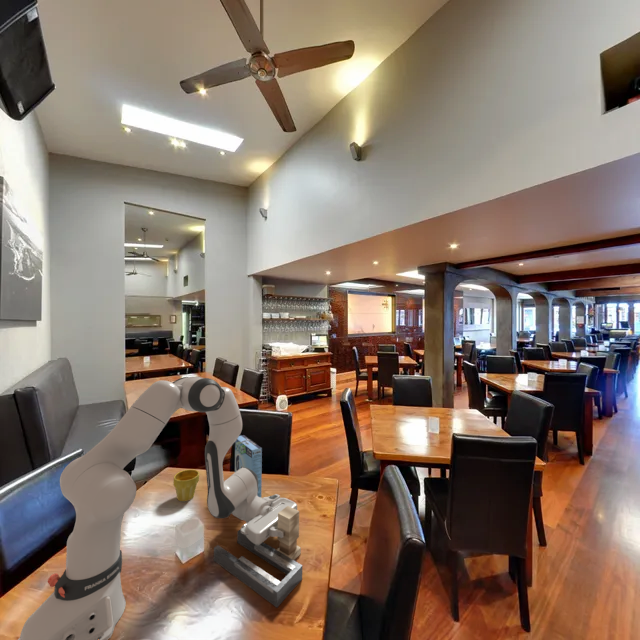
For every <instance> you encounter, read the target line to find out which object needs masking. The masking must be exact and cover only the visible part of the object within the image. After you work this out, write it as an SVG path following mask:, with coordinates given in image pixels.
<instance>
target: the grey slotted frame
mask: <svg viewBox="0 0 640 640" xmlns="http://www.w3.org/2000/svg"><path fill="white" fill-rule="evenodd" d="M240 530H241V528H240V529H238V530H237V536H236V537H237V539H236V541H237V544H238V545H239V546H241V547H243V548H245V549H246V550H248V551H249V552H251V553H252V554H254V555H255V556H257V557H259V558H260V559H262V560H263V561H265V562H266V563H268V564H269V565H271V566H273V567H274V568H275V569H277V570H279V571H280V572H281V573H283V574H285V577H284V578H282V579H281V581H280V580H279V579H277V578H276V577H274V576H273V575H271V574H270V573H268V572H266V571H265V570H264V569H263V568H261V567H259V566H257V564H254V563H253V562H252V561H251V560H249V559H247V558H246V557H245V556H243V555H242V556H240V557H239V558H238V557H237V556H235V555H233V554H232V553H230V552H229V551H227V550H226V549H225V548H224V547H221V545H219V544H217V545H216V546H214V547H213V561H214V562H215V563H216V564H218V565H219V566H220V567H222V568H223V569H225V570H226V571H227V572H228V573H230V574H231V575H232V576H234V577H235V578H237V579H238V580H239V581H240V582H242V583H243V584H244V585H246V586H247V587H249V588H250V589H251V590H253V591H254V592H255V593H256V594H257V595H259V596H261V598H263V599H264V600H266V601H267V602H269V603H270V604H271V605H273V606H274V607H275V608H278V607H279V606H280V605H281V604H282V603H283V602H284V600H285V599H286V598H287V597H288V596H289V595H290V593H291V592H292V591H293V590H294V589H295V588H296V587H297V586H298V585H299V584H300V583H301V581H302V580H303V564H301V563H300V562H297V561H296V560H293V559H291V558H289V557H287V556H286V555H284V554H282V553H281V552H279V551H277V550H276V548H274V547H272V546H271V545H270V544H268V543H265V541H263V542H262V543H261V544H260V545H255V544H254V543H252V542H251V541H250V540H249V539H248V538H247V537H246V535H244V534H242V533H241V531H240Z"/></svg>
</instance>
